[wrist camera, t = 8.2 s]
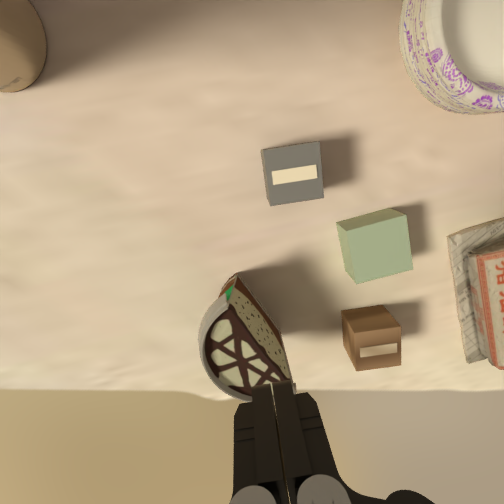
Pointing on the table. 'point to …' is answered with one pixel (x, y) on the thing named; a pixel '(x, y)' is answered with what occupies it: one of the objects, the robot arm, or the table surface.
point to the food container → (241, 343)
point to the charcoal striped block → (293, 173)
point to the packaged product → (480, 289)
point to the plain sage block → (375, 245)
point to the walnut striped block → (371, 337)
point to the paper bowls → (455, 52)
